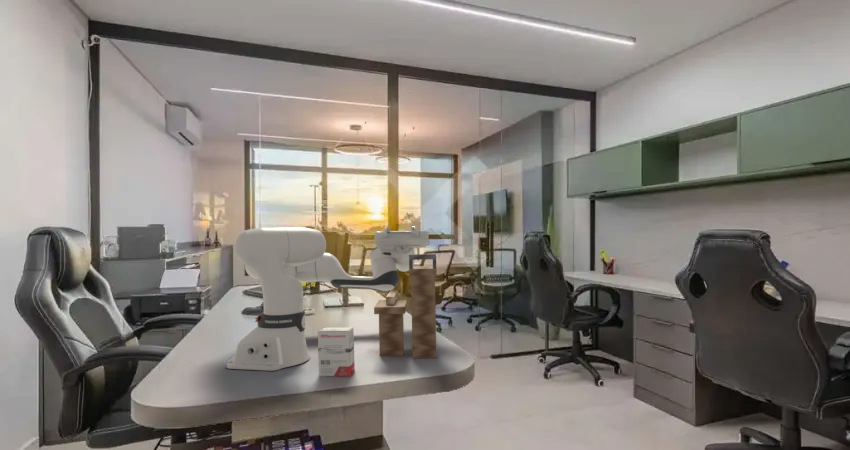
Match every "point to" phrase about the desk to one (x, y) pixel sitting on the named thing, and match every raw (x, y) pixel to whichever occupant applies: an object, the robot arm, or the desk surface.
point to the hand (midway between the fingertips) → (400, 228)
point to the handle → (391, 297)
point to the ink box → (336, 351)
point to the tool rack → (421, 314)
